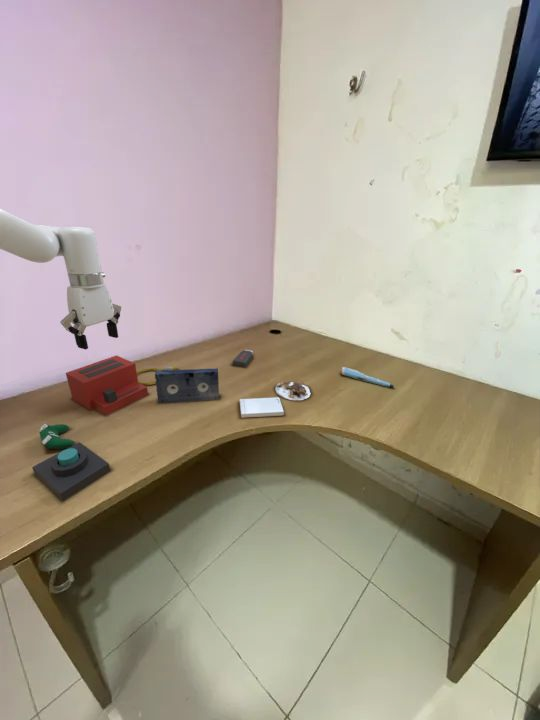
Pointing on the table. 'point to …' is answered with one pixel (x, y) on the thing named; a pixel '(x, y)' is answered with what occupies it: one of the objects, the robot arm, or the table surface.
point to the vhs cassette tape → (187, 385)
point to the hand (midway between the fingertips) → (99, 342)
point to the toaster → (106, 384)
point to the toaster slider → (110, 395)
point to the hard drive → (261, 407)
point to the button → (68, 457)
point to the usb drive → (243, 358)
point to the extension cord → (156, 370)
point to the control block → (71, 472)
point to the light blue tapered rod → (363, 377)
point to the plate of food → (292, 390)
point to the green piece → (54, 436)
